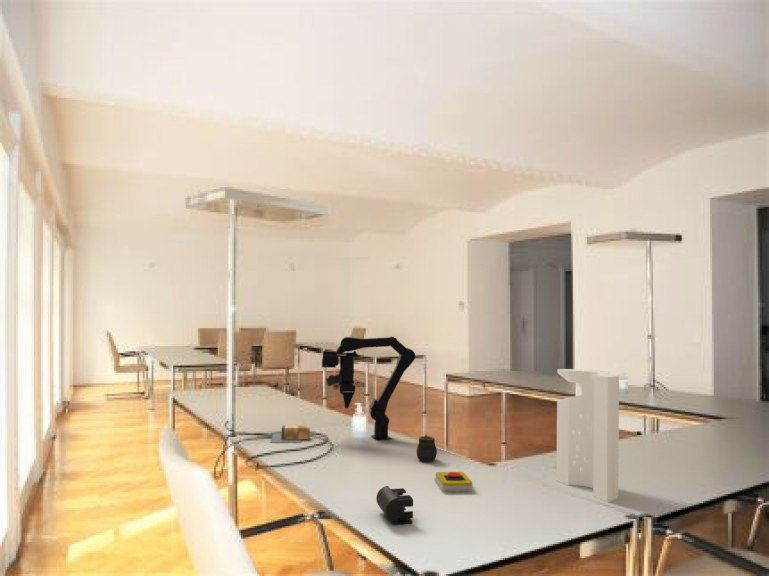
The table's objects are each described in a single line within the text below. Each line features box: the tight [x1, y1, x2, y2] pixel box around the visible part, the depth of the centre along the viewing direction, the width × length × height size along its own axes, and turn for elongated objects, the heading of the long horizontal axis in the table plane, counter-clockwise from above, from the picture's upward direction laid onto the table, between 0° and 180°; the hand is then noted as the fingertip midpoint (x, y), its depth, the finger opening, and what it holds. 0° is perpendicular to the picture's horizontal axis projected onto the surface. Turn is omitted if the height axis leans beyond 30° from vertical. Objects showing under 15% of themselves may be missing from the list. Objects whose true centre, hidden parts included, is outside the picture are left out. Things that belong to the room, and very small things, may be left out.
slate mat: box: [269, 433, 303, 444], centre depth 225 cm, size 12×14×1 cm
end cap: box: [375, 485, 414, 526], centre depth 142 cm, size 10×7×7 cm
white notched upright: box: [555, 368, 620, 503], centre depth 169 cm, size 35×11×21 cm
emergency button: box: [433, 471, 475, 495], centre depth 169 cm, size 9×4×15 cm
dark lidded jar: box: [416, 434, 438, 463], centre depth 197 cm, size 7×8×10 cm
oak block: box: [281, 425, 311, 440], centre depth 225 cm, size 4×4×11 cm
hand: (346, 406), depth 228 cm, fingers open, 9 cm apart
